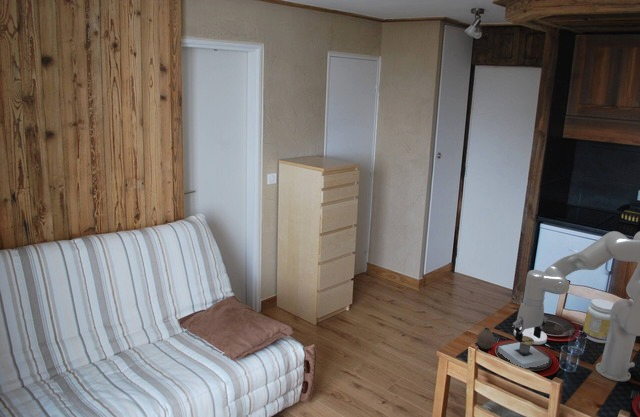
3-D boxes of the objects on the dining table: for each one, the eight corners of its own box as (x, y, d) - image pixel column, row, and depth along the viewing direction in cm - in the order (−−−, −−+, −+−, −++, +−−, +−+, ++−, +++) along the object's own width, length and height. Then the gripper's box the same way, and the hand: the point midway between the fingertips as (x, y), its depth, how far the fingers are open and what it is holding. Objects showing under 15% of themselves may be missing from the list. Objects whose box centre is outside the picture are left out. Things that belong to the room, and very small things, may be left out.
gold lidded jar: (522, 353, 227) (526, 334, 224) (533, 361, 222) (537, 342, 219) (511, 356, 224) (515, 337, 222) (522, 363, 219) (526, 344, 217)
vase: (493, 352, 229) (496, 333, 226) (476, 349, 230) (479, 331, 228) (491, 344, 235) (494, 326, 233) (475, 341, 236) (478, 323, 234)
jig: (522, 349, 232) (524, 341, 231) (547, 366, 220) (549, 358, 219) (497, 354, 227) (498, 346, 226) (521, 372, 215) (522, 364, 213)
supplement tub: (587, 328, 255) (594, 295, 251) (615, 338, 247) (622, 304, 242) (577, 336, 247) (584, 302, 242) (605, 347, 239) (613, 312, 234)
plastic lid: (507, 336, 243) (508, 331, 243) (523, 327, 252) (524, 322, 252) (536, 349, 233) (537, 344, 233) (551, 340, 242) (552, 335, 242)
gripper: (542, 293, 222) (536, 331, 227) (510, 299, 216) (504, 338, 220) (556, 301, 216) (550, 339, 221) (523, 307, 209) (517, 347, 214)
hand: (527, 338), depth 220 cm, fingers open, 9 cm apart
